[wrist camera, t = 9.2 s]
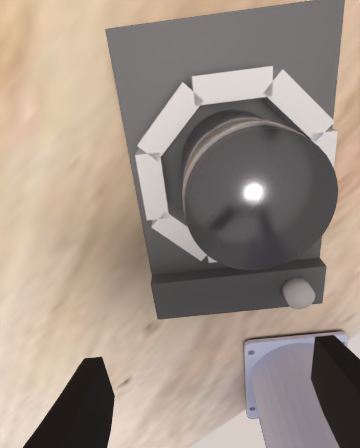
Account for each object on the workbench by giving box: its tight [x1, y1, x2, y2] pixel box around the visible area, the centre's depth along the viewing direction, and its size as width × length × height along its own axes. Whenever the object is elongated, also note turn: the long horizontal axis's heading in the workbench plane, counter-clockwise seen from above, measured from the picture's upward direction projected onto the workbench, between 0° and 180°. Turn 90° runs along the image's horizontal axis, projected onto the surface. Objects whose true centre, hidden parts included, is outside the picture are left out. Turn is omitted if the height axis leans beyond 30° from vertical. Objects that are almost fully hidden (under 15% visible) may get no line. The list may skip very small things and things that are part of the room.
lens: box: [182, 109, 338, 270], centre depth 11 cm, size 4×4×6 cm
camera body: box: [105, 0, 345, 319], centre depth 15 cm, size 14×9×6 cm, turn 7°
